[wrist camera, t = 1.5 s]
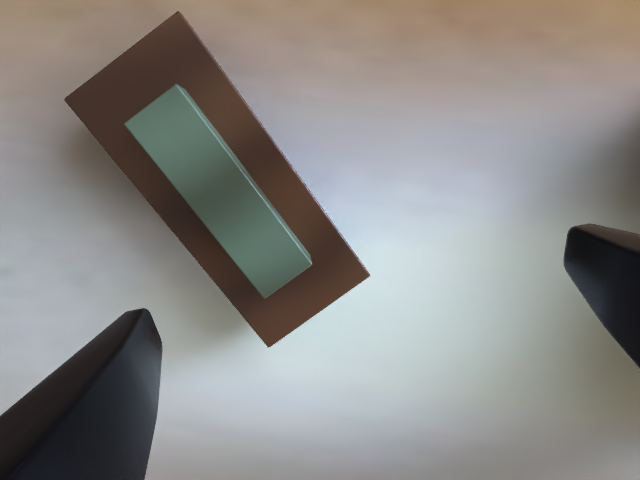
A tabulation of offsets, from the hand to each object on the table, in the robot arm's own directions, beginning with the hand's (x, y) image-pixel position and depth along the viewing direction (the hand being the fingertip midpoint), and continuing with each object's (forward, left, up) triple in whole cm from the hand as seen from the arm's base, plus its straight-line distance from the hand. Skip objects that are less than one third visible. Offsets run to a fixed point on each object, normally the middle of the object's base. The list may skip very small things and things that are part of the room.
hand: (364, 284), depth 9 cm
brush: (0, +4, -14) cm, 15 cm away
